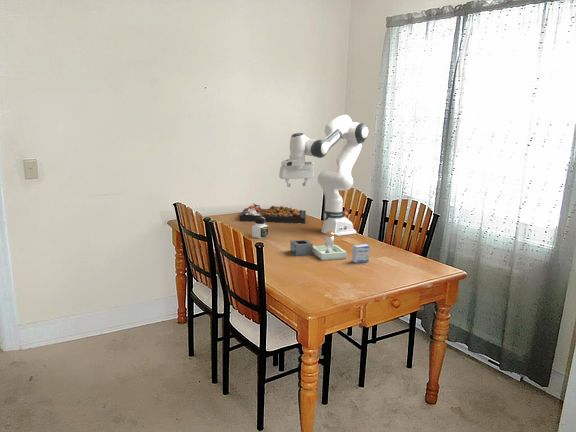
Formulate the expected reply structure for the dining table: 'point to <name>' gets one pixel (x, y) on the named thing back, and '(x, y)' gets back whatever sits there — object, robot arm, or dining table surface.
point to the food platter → (273, 214)
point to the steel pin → (329, 242)
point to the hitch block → (301, 247)
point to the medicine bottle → (260, 228)
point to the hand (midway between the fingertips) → (296, 186)
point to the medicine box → (360, 253)
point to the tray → (336, 254)
